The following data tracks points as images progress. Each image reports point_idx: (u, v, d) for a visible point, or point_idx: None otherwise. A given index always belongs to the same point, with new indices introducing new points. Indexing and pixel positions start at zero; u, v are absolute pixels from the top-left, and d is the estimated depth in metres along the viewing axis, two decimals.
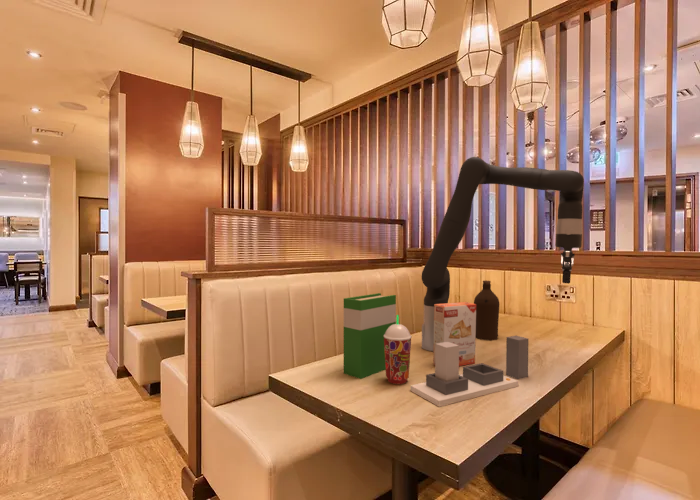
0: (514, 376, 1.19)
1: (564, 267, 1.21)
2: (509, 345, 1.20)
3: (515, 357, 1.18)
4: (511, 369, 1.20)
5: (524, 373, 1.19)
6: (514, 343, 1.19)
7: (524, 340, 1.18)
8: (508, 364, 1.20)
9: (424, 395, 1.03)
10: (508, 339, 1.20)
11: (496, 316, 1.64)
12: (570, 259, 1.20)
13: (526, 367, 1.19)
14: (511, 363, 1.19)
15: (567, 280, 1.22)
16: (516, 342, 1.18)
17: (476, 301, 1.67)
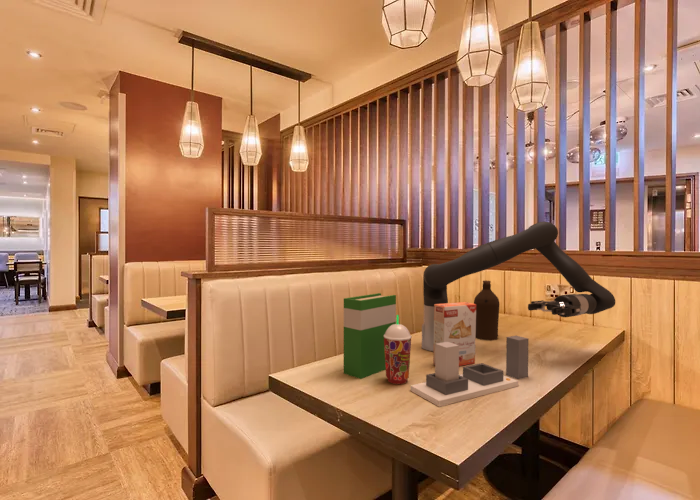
0: (514, 376, 1.19)
1: (571, 309, 1.21)
2: (509, 345, 1.20)
3: (515, 357, 1.18)
4: (511, 369, 1.20)
5: (524, 373, 1.19)
6: (514, 343, 1.19)
7: (524, 340, 1.18)
8: (508, 364, 1.20)
9: (424, 395, 1.03)
10: (508, 339, 1.20)
11: (496, 316, 1.64)
12: (575, 313, 1.23)
13: (526, 367, 1.19)
14: (511, 363, 1.19)
15: (557, 312, 1.21)
16: (516, 342, 1.18)
17: (476, 301, 1.67)
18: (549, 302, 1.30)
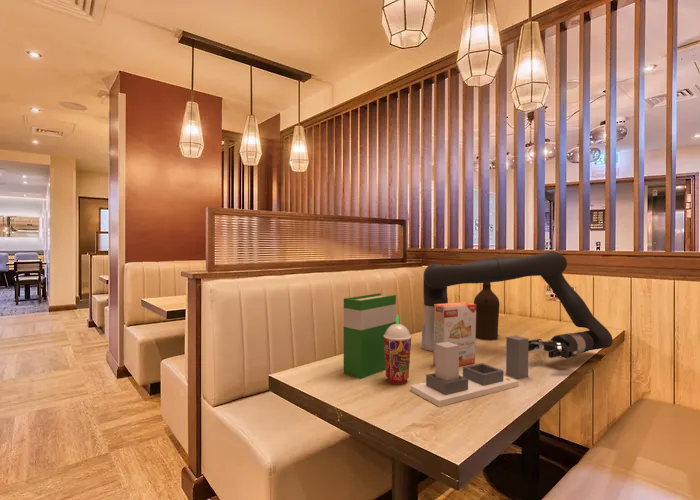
0: (514, 376, 1.19)
1: (568, 352, 1.21)
2: (509, 345, 1.20)
3: (515, 357, 1.18)
4: (511, 369, 1.20)
5: (524, 373, 1.19)
6: (513, 343, 1.19)
7: (524, 340, 1.18)
8: (508, 364, 1.20)
9: (424, 395, 1.03)
10: (508, 339, 1.20)
11: (496, 316, 1.64)
12: (572, 356, 1.23)
13: (526, 367, 1.19)
14: (511, 363, 1.19)
15: (554, 355, 1.21)
16: (516, 342, 1.18)
17: (476, 301, 1.67)
18: (546, 342, 1.30)
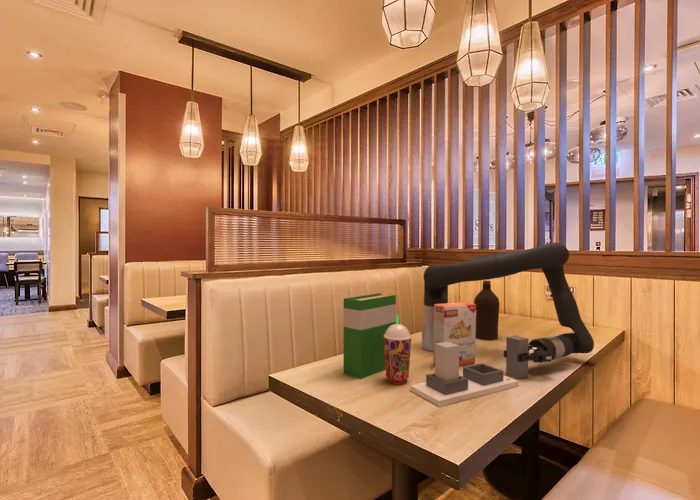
0: (514, 376, 1.19)
1: (537, 356, 1.17)
2: (509, 345, 1.20)
3: (515, 357, 1.18)
4: (511, 369, 1.20)
5: (524, 373, 1.19)
6: (513, 343, 1.19)
7: (524, 340, 1.18)
8: (508, 364, 1.20)
9: (424, 395, 1.03)
10: (508, 339, 1.20)
11: (496, 316, 1.64)
12: (544, 361, 1.17)
13: (526, 367, 1.19)
14: (511, 363, 1.19)
15: (523, 360, 1.16)
16: (516, 341, 1.18)
17: (476, 301, 1.67)
18: None
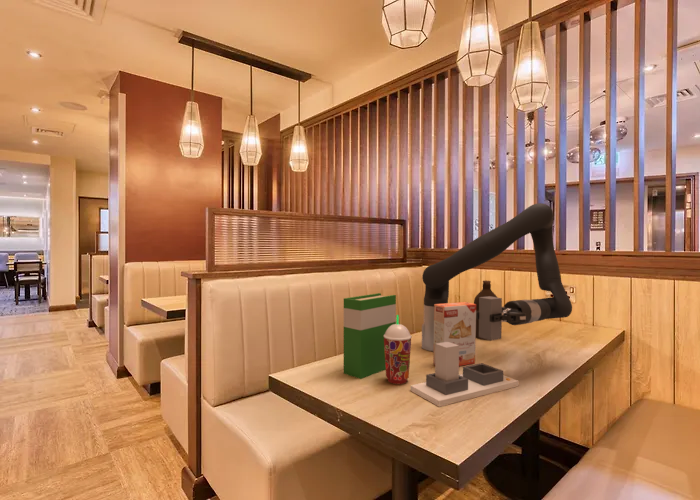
0: (487, 337, 1.13)
1: (510, 316, 1.11)
2: (482, 305, 1.14)
3: (488, 317, 1.12)
4: (483, 331, 1.14)
5: (497, 334, 1.13)
6: (486, 302, 1.13)
7: (497, 299, 1.12)
8: (481, 325, 1.14)
9: (424, 395, 1.03)
10: (481, 299, 1.14)
11: None
12: (518, 321, 1.11)
13: (499, 328, 1.13)
14: (484, 325, 1.13)
15: (495, 319, 1.10)
16: (489, 301, 1.12)
17: (476, 301, 1.67)
18: None
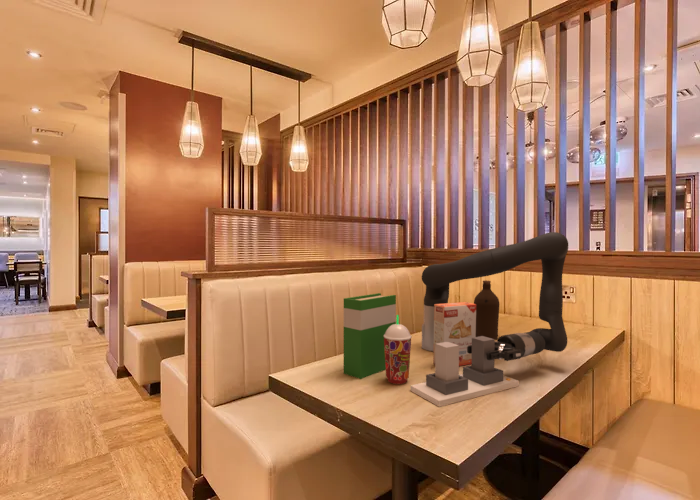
0: None
1: (508, 354, 1.09)
2: (474, 346, 1.13)
3: (480, 359, 1.11)
4: None
5: None
6: (479, 344, 1.12)
7: (490, 341, 1.11)
8: (473, 366, 1.13)
9: (424, 395, 1.03)
10: (474, 340, 1.13)
11: (496, 316, 1.64)
12: (514, 358, 1.10)
13: (492, 370, 1.12)
14: (476, 366, 1.12)
15: (492, 358, 1.08)
16: (481, 343, 1.11)
17: (476, 301, 1.67)
18: None
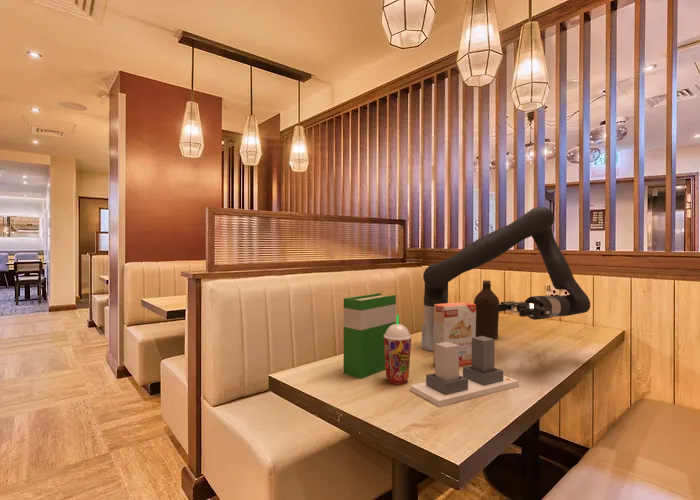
0: None
1: (539, 311, 1.14)
2: (474, 346, 1.13)
3: (480, 359, 1.11)
4: None
5: None
6: (479, 344, 1.12)
7: (490, 341, 1.11)
8: (473, 366, 1.13)
9: (424, 395, 1.03)
10: (474, 340, 1.13)
11: (496, 316, 1.64)
12: (545, 315, 1.16)
13: (492, 370, 1.12)
14: (476, 366, 1.12)
15: (525, 314, 1.14)
16: (481, 343, 1.11)
17: (476, 301, 1.67)
18: (519, 303, 1.23)
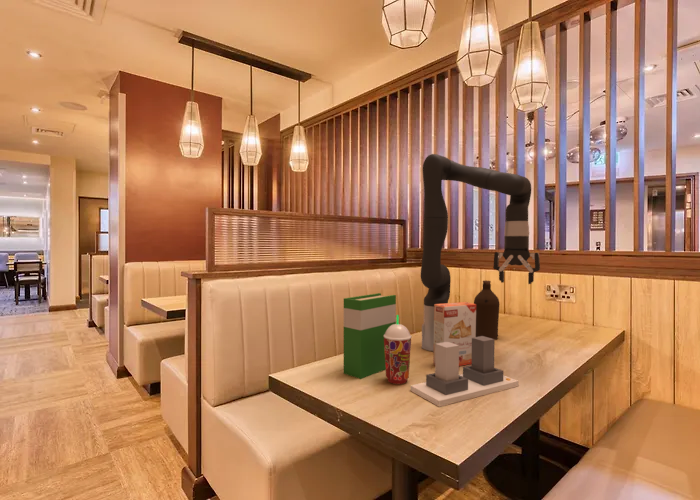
0: None
1: (539, 268, 1.25)
2: (474, 346, 1.13)
3: (480, 359, 1.11)
4: None
5: None
6: (479, 344, 1.12)
7: (490, 341, 1.11)
8: (473, 366, 1.13)
9: (424, 395, 1.03)
10: (474, 340, 1.13)
11: (496, 316, 1.64)
12: (539, 260, 1.26)
13: (492, 370, 1.12)
14: (476, 366, 1.12)
15: None
16: (481, 343, 1.11)
17: (476, 301, 1.67)
18: (509, 261, 1.29)
